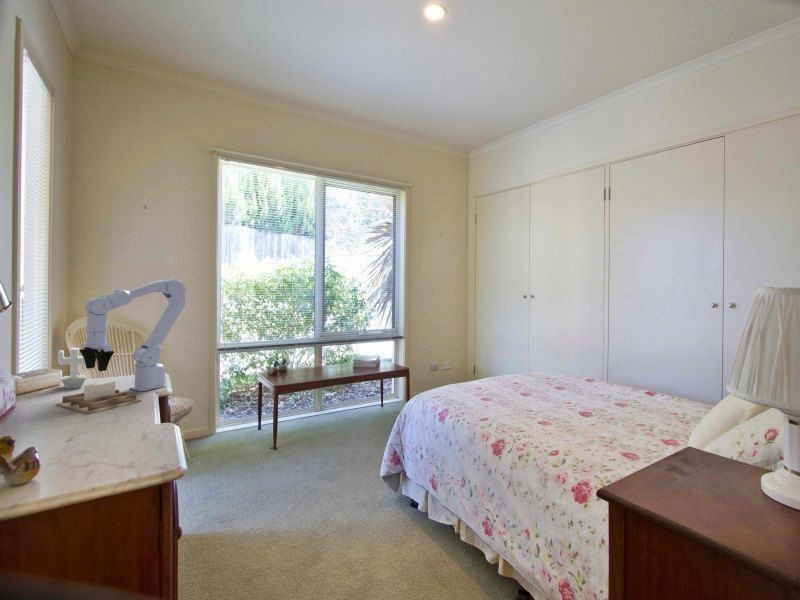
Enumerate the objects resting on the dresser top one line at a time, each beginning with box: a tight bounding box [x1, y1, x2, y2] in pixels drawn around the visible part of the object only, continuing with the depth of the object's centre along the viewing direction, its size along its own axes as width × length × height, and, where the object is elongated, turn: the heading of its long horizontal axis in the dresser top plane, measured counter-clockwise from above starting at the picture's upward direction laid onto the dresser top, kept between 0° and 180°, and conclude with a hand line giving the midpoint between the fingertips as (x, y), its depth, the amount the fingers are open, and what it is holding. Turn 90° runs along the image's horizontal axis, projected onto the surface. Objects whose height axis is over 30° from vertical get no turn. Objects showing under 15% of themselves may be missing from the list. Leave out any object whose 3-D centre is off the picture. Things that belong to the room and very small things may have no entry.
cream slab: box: [83, 380, 116, 400], centre depth 130 cm, size 8×2×6 cm, turn 155°
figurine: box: [57, 347, 91, 390], centre depth 148 cm, size 7×9×15 cm
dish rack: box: [56, 389, 142, 415], centre depth 130 cm, size 16×18×3 cm
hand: (96, 369), depth 138 cm, fingers open, 7 cm apart
